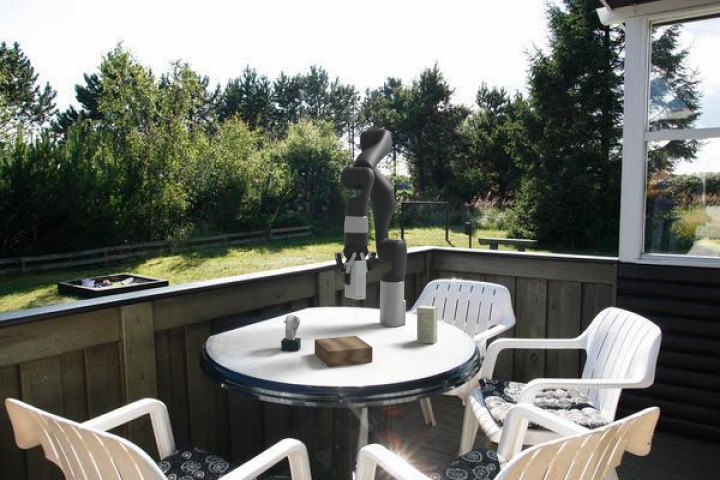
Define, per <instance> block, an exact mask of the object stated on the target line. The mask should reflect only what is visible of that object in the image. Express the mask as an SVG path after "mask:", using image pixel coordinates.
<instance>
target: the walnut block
mask: <svg viewBox="0 0 720 480" xmlns="http://www.w3.org/2000/svg"><path fill="white" fill-rule="evenodd" d="M373 349H374V348H373V346H372V345H370V343H367V342H366V341H364V340H363V339H362V338H360V337H359V336H357V335H352V336H351V335H350V336H349V335H348V336H338V337H325V338H315V339H314V355H315V356H316V357H317V358H318V359H319V360H320V361H321V362H322V363H323V364H324V365H325V366H327V367H328V368H332V367H333V368H335V367H341V366H342V367H343V366H351V365H360V364H368V363H369V364H370V363H373V354H374V353H373Z"/></svg>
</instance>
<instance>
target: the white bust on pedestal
mask: <svg viewBox="0 0 720 480" xmlns="http://www.w3.org/2000/svg"><path fill="white" fill-rule="evenodd" d="M283 324H285V330H284V332H285V333H284V334H285V337H283V338H282V339H281V341H280V342H281V343H280V349H281V351H283V352H299V351H300V349H301V347H302V346H301V344H302V342H301V341H302V340H301V337H296V336H297V332H298V331H297V330H298V329H299V326H300V325H301V319H300V317H298V316H297V315H294V314H291V315H289V314H288V315H286V317H285V320H283Z"/></svg>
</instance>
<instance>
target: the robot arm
mask: <svg viewBox="0 0 720 480" xmlns="http://www.w3.org/2000/svg"><path fill="white" fill-rule="evenodd" d="M392 145H393V140H392V135H391V133H390V130H388V129H385V128H380V129H372V130H370V129H369V130H363V131H361V133H360V134H359V146H360V147H359V148H360V153H359V154H358V155H357V157H356V158H355V160H353V161H352V162H350V163H349V164H347V165H345V167H344V168H343V169H342V171H341V173H340V175H339V181H340V184H341V186H342V187H343V188H344V189H346V190H351V191H352V190H354V191H356V190H357V191H358V190H361V191H360V193H359V194H358V195H356V196H352V197H348V198H347V199H346V200H345V215H344V216H345V217H344V218H345V219H344V226H343V227H344V229H343V234H344V235H343V236H344V237H343V250H342V251H340V252H334V259H335V263H336V269H337V270H338V271H339V272H342V273H343V277H342V278H343V281H342V282H343V283H344V286H345V285H349V284H350V274H349V271H350V268H351V267H352V264H353V261H366V258H368V260H367V262H366V283H367V282H368V272H370V271H373V269H374V266H375V263H376V258H377V259H378V260H379V261H380V262H381V263H385V264H386V263H387V264H391V268H390V269H388V270H387V271H383V272H381V273H380V277H379V278H380V284H379V285H380V287H379V288H380V289H379V290H380V292H379V325H381V326H383V327H387V328H388V327H389V328H391V327H392V328H398V327H402V326H405V325H406V319H407V317H406V315H407V313H406V312H407V307H406V306H407V300H405V277H406V273H407V260H408V247H407V244H406V242H405V241H404V240H402V239H392V238H390V235H389V224H390V222H391V220H392V217H393V215H394V213H395V209H396V198H395V192H394V187H393V186H392V184H391V183H390V182H389V180H388V179H387V178H386V177H385V175H384V174H383V173H382V172H381V171H380V169H379V168H378V166H377V165H378V164H379V163H380V162H381V161H382V160H384V158H385V157H386V156H387V155H388V154H389V153H390V152H391V150H392ZM369 200H370V207H371V211H372V218H373V219H372V220H373V225H374V238H375V251H370V250H369V249H368V246H369V245H368V243H369V220H368V219H369V218H368V216H369V214H368V213H369ZM344 257H345V260H346V261H345V260H344V263H343V259H344ZM347 261H348V262H349V263H347Z"/></svg>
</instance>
